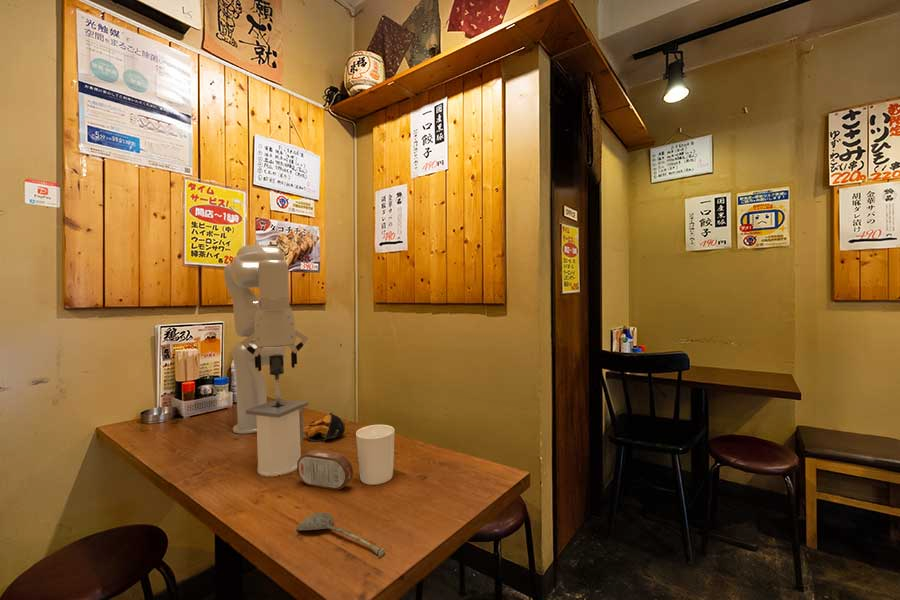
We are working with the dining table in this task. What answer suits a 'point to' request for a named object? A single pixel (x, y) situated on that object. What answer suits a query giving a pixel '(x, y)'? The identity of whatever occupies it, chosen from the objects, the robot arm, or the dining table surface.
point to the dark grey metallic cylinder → (276, 373)
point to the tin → (325, 469)
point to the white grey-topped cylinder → (278, 436)
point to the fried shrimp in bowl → (325, 428)
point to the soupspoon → (326, 523)
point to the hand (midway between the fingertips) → (276, 368)
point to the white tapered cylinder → (375, 453)
